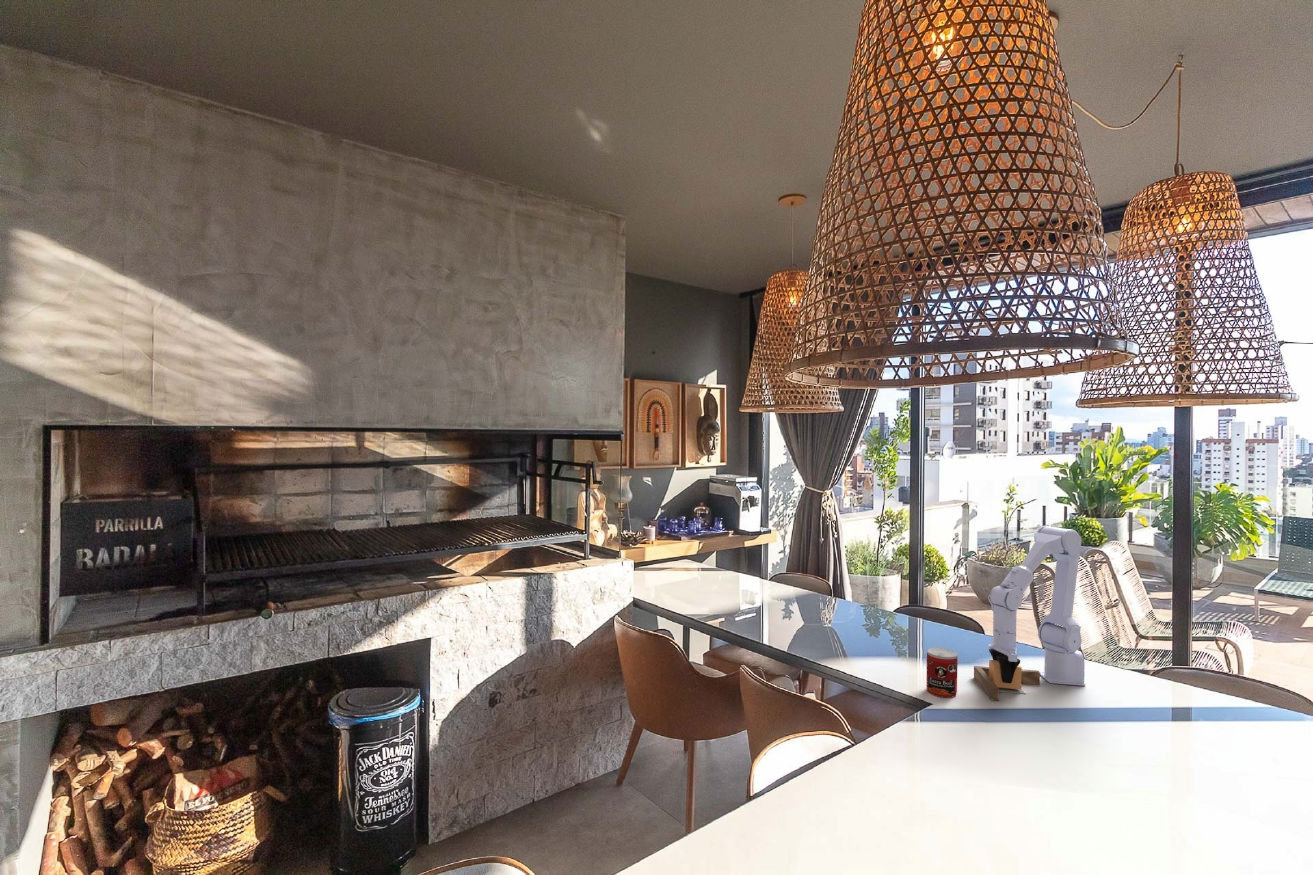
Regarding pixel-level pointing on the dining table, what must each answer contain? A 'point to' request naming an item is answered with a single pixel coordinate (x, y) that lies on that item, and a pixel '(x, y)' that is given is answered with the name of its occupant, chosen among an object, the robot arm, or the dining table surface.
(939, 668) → the canned food
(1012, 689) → the pad
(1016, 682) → the block
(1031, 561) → the robot arm
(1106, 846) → the dining table surface
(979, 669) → the arena
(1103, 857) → the dining table surface
